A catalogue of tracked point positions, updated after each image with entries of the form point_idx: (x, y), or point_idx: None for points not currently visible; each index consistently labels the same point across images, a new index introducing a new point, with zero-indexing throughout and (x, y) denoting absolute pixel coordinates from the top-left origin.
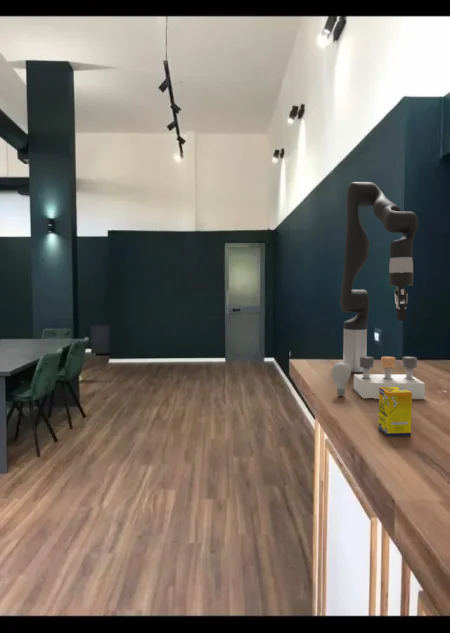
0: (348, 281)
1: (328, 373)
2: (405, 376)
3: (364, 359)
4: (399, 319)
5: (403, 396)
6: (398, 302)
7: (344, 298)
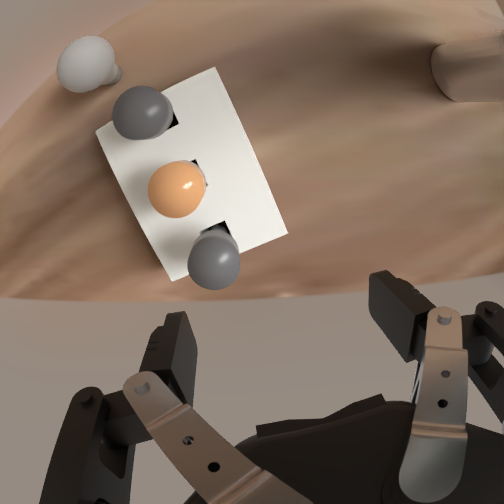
0: None
1: (390, 5)
2: (248, 224)
3: (114, 112)
4: (169, 320)
5: None
6: (87, 424)
7: None
